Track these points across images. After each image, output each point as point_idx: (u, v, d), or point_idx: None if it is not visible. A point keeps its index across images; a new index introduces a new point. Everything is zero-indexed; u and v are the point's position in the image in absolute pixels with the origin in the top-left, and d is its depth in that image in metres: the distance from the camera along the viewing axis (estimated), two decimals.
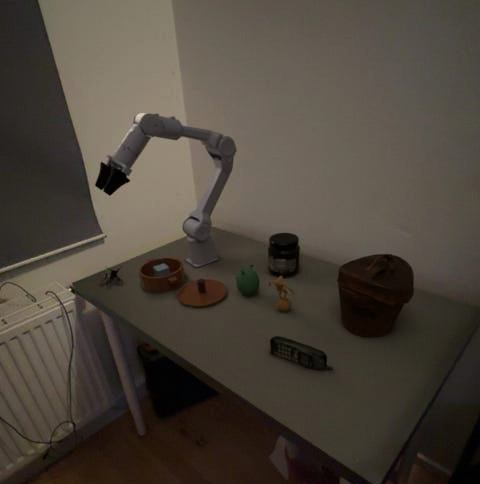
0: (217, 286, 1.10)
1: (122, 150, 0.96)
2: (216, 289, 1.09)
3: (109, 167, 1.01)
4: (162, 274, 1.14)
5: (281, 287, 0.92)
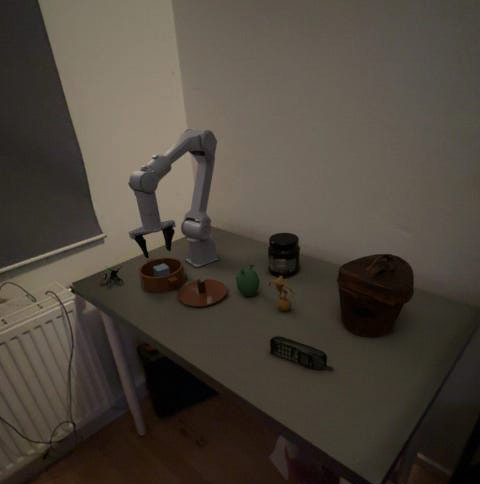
0: (217, 286, 1.10)
1: (158, 216, 1.05)
2: (216, 289, 1.09)
3: None
4: (162, 274, 1.14)
5: (281, 287, 0.92)
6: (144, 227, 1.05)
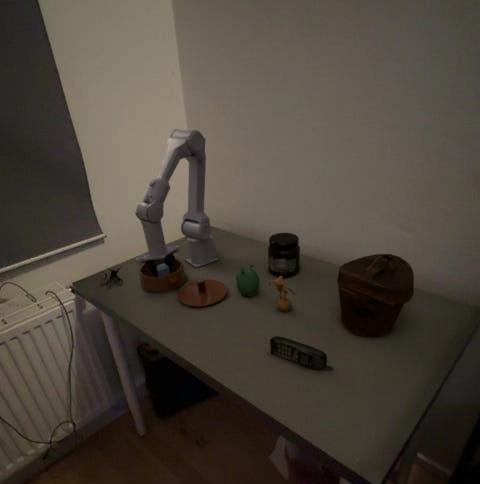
0: (217, 286, 1.10)
1: (164, 243, 1.09)
2: (216, 289, 1.09)
3: (153, 261, 1.12)
4: (162, 274, 1.14)
5: (281, 287, 0.92)
6: (150, 254, 1.10)
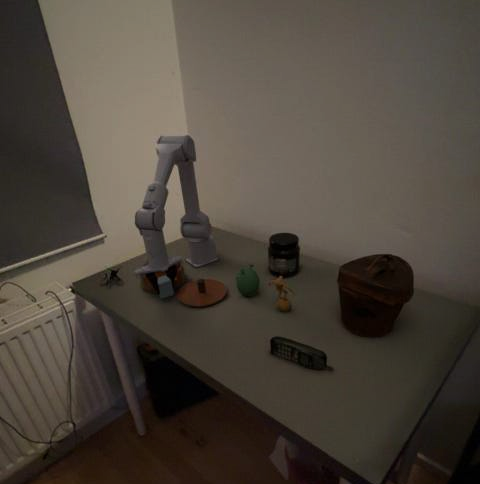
0: (217, 286, 1.10)
1: (166, 254, 0.99)
2: (216, 289, 1.09)
3: (154, 274, 1.01)
4: (164, 287, 1.03)
5: (281, 287, 0.92)
6: (150, 265, 0.99)
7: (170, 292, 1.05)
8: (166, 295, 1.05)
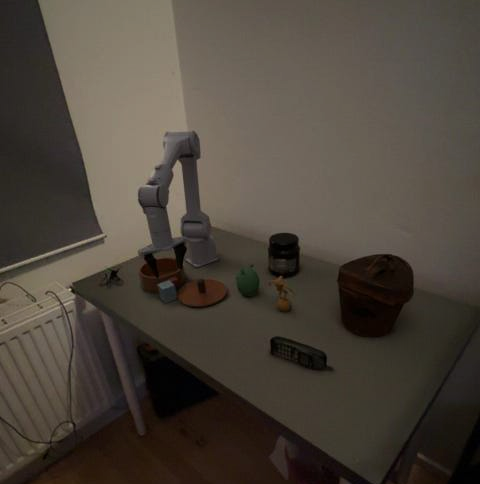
0: (217, 286, 1.10)
1: (170, 233, 0.96)
2: (216, 289, 1.09)
3: (153, 256, 0.97)
4: (167, 292, 1.05)
5: (281, 287, 0.92)
6: (154, 245, 0.96)
7: (173, 297, 1.07)
8: (170, 300, 1.07)
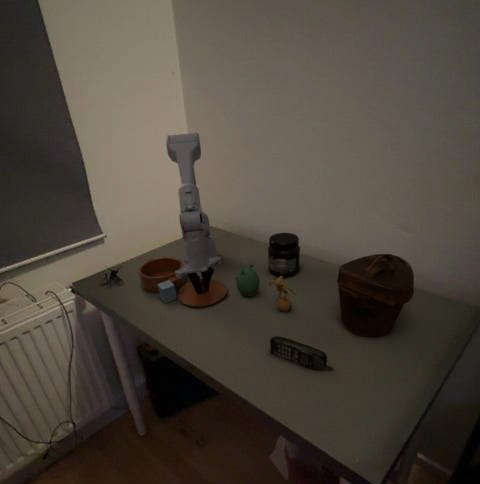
0: (217, 286, 1.11)
1: (206, 255, 1.01)
2: (216, 289, 1.09)
3: None
4: (167, 292, 1.05)
5: (281, 287, 0.92)
6: (191, 266, 1.01)
7: (173, 297, 1.07)
8: (170, 300, 1.07)
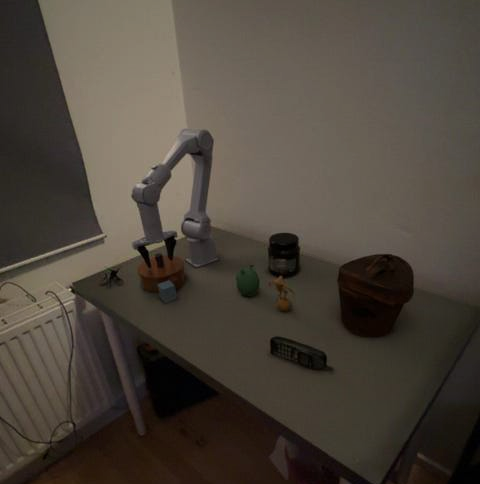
0: (175, 261, 1.16)
1: (161, 227, 1.07)
2: (174, 263, 1.15)
3: (145, 248, 1.08)
4: (167, 292, 1.05)
5: (281, 287, 0.92)
6: (147, 238, 1.07)
7: (173, 297, 1.07)
8: (170, 300, 1.07)
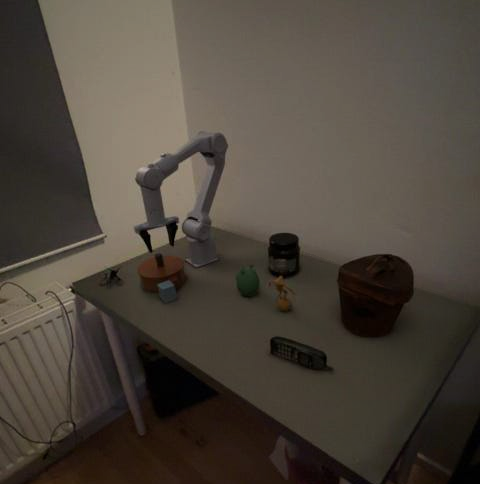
0: (175, 261, 1.16)
1: (163, 212, 1.08)
2: (174, 263, 1.15)
3: None
4: (167, 292, 1.05)
5: (281, 287, 0.92)
6: (149, 222, 1.08)
7: (173, 297, 1.07)
8: (170, 300, 1.07)
